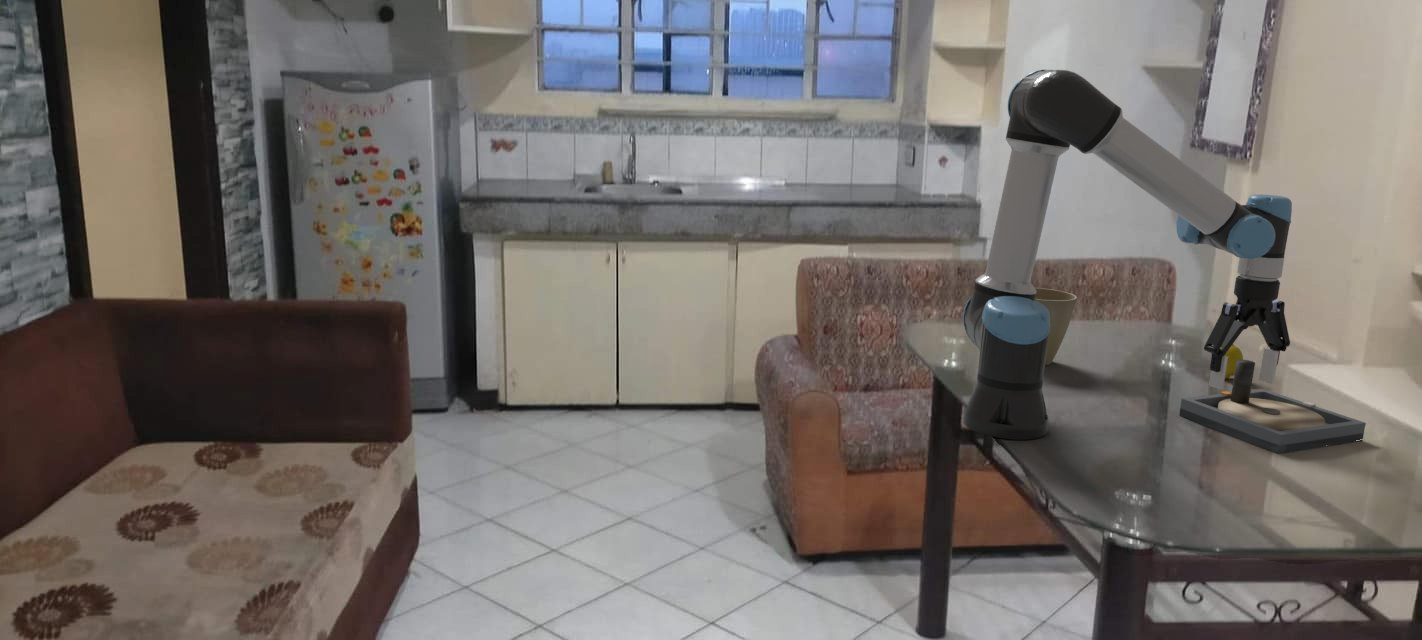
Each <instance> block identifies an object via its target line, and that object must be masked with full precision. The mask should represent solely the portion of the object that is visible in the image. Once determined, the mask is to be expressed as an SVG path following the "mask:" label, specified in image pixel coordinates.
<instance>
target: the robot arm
mask: <svg viewBox="0 0 1422 640" xmlns="http://www.w3.org/2000/svg"><path fill="white" fill-rule="evenodd" d="M1007 111H1008V112H1007V113H1008V117H1009V121H1008V124H1007V125H1008V126H1007V129H1006V134H1005V140H1006V142H1007V143H1008V145H1009V146H1010V149H1011V151H1010V155H1009V160H1008V165H1007V169H1006V170H1007V171H1006V173H1005V174H1006V175H1005V180H1004V185H1003V188H1002V189H1003V190H1002V193H1001V199H1000V202H999V206H998V213H997V217H996V220H995V221H996V222H995V225H994V229H993V230H994V231H993V235H992V239H991V244H990V249H989V253H988V259H987V263H986V269H985V272H984V273H983V274H981V275H980V276H978V277H977V278H975V281H974V286H973V290H972V295H971V296H970V297H969V298H968V300H967V302H966V304H965V305H964V309H963V314H962V322H963V327H964V330H965V334H967V337H968V338H969V339H970V341H971V342H972V343H973V345H975V346H976V347H977V348H978V350H979V355H978V366H977V377H976V383H975V386H974V389H973V390H972V393H971V395H970V398H969V401H968V402H967V403H968V404H967V405H966V406H965V408H964V410H963V418H962V419H963V420H962V421H963V424H964V426H966V428H968V429H969V430H972V431H974V432H976V433H978V434H981V435H985V436H988V437H993V438H996V439H997V438H998V439H1004V440H1021V441H1022V440H1023V441H1024V440H1033V439H1039V438H1042V437H1044V436H1046V435H1047V434H1048V431H1049V430H1048V429H1049V421H1050V420H1049V416H1048V414H1047V407H1046V402H1045V398H1044V392H1043V386H1044V385H1043V384H1044V378H1045V376H1044V375H1045V369H1046V365H1045V360H1046V352H1047V343H1048V334H1049V332H1050V314H1049V311H1048V309H1047V308H1046V307H1045V306H1044V305H1042V304H1041V303H1039V302H1037V301H1035V296H1036V292H1037V291H1036V289H1035V288H1036V287H1035V286H1034V285H1033V284H1032V276H1033V272H1034V268H1035V263H1036V258H1037V254H1038V250H1039V245H1040V240H1041V236H1042V231H1043V227H1044V224H1045V218H1046V214H1047V210H1048V205H1049V201H1050V195H1051V192H1052V187H1053V183H1054V178H1055V175H1056V170H1057V165H1058V160H1059V158H1060V157H1061V155H1062V154H1064V153H1066V152H1067V151H1068V150H1070V146H1072V147H1074V148H1076V149H1077V150H1078V151H1079V152H1081V153H1082V154H1084V155H1087V154H1088V155H1089V154H1094V155H1095V156H1096V157H1097V158H1099V159H1101V160H1102V161H1103V162H1105V163H1106V164H1107V165H1108V166H1110V167H1112V168H1113V169H1114V170H1116V171H1117V172H1118V173H1120V174H1121V175H1123V176H1124V177H1125V178H1127V179H1128V180H1129V181H1131V182H1132V183H1133V184H1135V185H1136V186H1138V187H1139V188H1140V189H1142V190H1143V191H1145V192H1146V193H1147V194H1149V195H1150V196H1151V197H1153V198H1155V199H1156V200H1157V201H1158V202H1159V203H1161V204H1162V205H1164V206H1165V207H1167V208H1168V209H1170V210H1171V211H1172V212H1173V213H1175V214H1176V215H1177V220H1176V234H1177V237H1178V239H1179V240H1180V241H1181V242H1182V243H1185V244H1194V245H1208V246H1211V247H1212V248H1216V249H1218V250H1221V251H1224V252H1227V253H1229V254H1231V255H1233V256H1235V257H1236V258H1239V260H1238V266H1237V274H1239V275H1237V276H1236V277H1235V282H1234V289H1233V293H1234V295H1235V296H1236V298H1237V299H1236V303H1235V304H1234V303H1229V302H1223V304H1222V306H1221V307H1222V308H1221V312H1220V315H1219V317H1218V319H1217V321H1216V323H1215V324H1214V327H1213V329H1212V331H1211V332H1210V334H1209V337H1208V338H1207V340H1206V342H1205V344H1204V346H1203V350H1204V351H1206V352H1207V353H1211V358H1210V359H1211V360H1210V365H1209V371H1210V375H1209V382H1208V387H1212V388H1214V389H1217V390H1219V391H1220V390H1221V391H1222V390H1224V387H1225V386H1224V385H1225V381H1226V380H1225V379H1226V378H1225V374H1226V367H1227V361H1228V356H1225V354H1226V352H1227V351H1228V350H1229V348H1230V347H1231V346H1232V344H1233V345H1234V343H1235V342H1236V341H1237V339H1238V338H1239V336H1240V335H1241V334H1242V332H1243V331H1244V330H1247V329H1248V328H1249V327H1254V326H1257V327H1258V328H1259V331H1260V333H1261V335H1262V337H1263V339H1264V341H1265V344H1266V345H1267V347H1264V349H1263V353H1262V360H1261V367H1260V372H1259V378H1258V380H1259V381H1261V382H1265V383H1268V384H1270V385H1271V384H1272V385H1273V384H1275V379H1276V373H1277V372H1276V371H1277V368H1278V367H1277V366H1278V364H1279V360H1280V355H1281V354H1280V353H1281V352H1286V351H1287V348H1288V347H1289V346H1290V345H1291V341H1290V335H1289V331H1288V326H1287V320H1286V315H1285V306H1286V305H1285V301H1282V300H1279V299H1278V297H1279V291H1280V285H1281V282H1280V280H1279V279H1280V278H1282V276H1283V270H1284V263H1285V262H1284V261H1285V253H1286V249H1287V248H1286V247H1287V242H1288V236H1289V230H1290V226H1291V223H1292V211H1293V209H1292V207H1293V203H1292V200H1291V199H1290V198H1289V197H1286V196H1281V195H1273V194H1251V195H1249V196H1248V199H1247V201H1246V203H1245V204H1240V203H1238V201H1236V200H1235V199H1233V198H1232V197H1231V196H1229V194H1227V193H1225V192H1224V190H1221V189H1220V188H1219V187H1217V186H1216V185H1215V184H1214V183H1213V182H1211V181H1210V180H1208V179H1207V178H1205V177H1204V176H1202V175H1201V174H1200V173H1198V172H1197V171H1196V170H1195V169H1193V168H1192V167H1190V166H1189V165H1188V164H1187V163H1185V162H1184V161H1182V160H1181V159H1179V158H1178V157H1177V156H1176V155H1174V154H1172V153H1171V152H1170V151H1169V150H1168V149H1166V148H1164V147H1163V146H1162V145H1161V144H1159V143H1158V142H1157V141H1155V140H1154V139H1152V138H1151V137H1150V136H1148V135H1147V134H1146V133H1145V132H1143V131H1142V130H1141V129H1139V128H1138V127H1137V126H1135V125H1134V124H1132V123H1131V122H1130V121H1129V120H1127V119H1126V118H1124V116H1123V109H1122V108H1121V107H1120V106H1119V105H1118V104H1116V103H1114V101H1112V100H1111V99H1110V98H1109V97H1108V96H1106V95H1105V94H1104V93H1103V92H1101V91H1100V90H1099V89H1097V88H1096V87H1095V85H1093V84H1092V83H1091V82H1090V81H1088V80H1087V79H1086V78H1085V77H1083V76H1082V75H1080V74H1078V73H1076V72H1073V71H1071V70H1065V69H1039V70H1035V71H1033V72H1030V73H1028V74H1027V75H1024V76H1023V77H1022V78H1021V79H1019V80H1018V82H1017V83H1015V84H1014V86H1013V88H1012V89H1011V91H1010V93H1009V95H1008V99H1007ZM1220 348H1221V349H1220Z"/></svg>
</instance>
